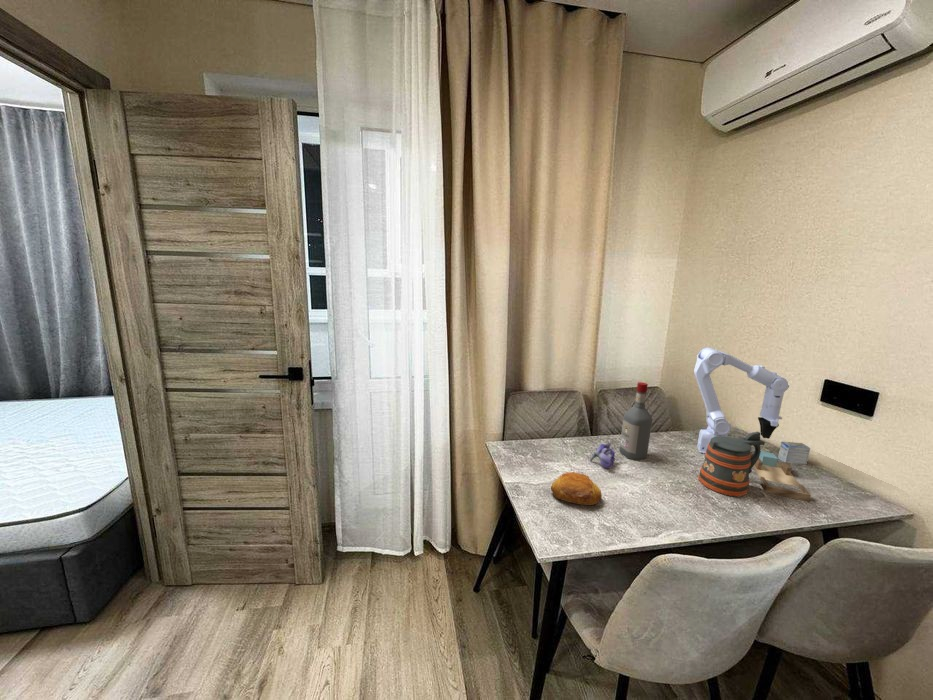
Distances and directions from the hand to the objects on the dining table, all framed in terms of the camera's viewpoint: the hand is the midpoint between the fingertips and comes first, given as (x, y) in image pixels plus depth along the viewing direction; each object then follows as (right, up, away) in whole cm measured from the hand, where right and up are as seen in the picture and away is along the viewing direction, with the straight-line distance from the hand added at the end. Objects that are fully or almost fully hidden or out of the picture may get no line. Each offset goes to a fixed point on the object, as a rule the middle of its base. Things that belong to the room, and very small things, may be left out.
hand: (764, 436), depth 155 cm
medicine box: (+9, -11, -2) cm, 14 cm away
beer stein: (-28, -13, -19) cm, 36 cm away
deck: (-7, -12, -14) cm, 20 cm away
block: (-3, -9, -5) cm, 11 cm away
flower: (-69, -9, -9) cm, 70 cm away
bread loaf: (-84, -13, -29) cm, 90 cm away
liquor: (-53, -8, +1) cm, 53 cm away
